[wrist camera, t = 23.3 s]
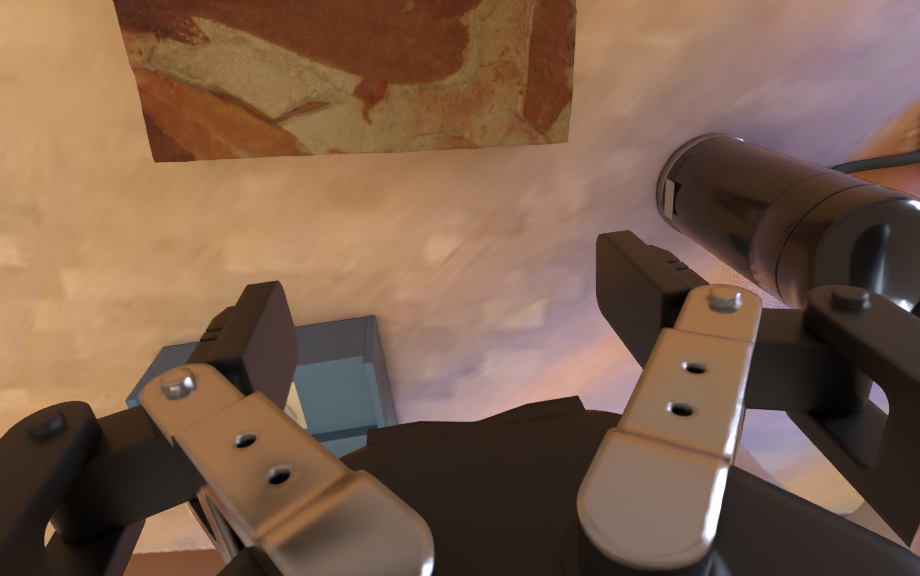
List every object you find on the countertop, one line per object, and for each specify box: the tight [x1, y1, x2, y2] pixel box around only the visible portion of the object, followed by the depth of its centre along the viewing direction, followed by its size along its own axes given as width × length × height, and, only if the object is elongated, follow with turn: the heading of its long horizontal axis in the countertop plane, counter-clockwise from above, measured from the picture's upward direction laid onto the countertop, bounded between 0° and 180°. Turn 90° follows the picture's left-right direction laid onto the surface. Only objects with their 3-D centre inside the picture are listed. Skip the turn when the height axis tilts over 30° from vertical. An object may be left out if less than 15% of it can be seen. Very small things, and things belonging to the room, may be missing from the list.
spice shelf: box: [125, 316, 397, 459], centre depth 51 cm, size 20×16×8 cm
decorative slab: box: [113, 0, 577, 162], centre depth 38 cm, size 32×22×5 cm
